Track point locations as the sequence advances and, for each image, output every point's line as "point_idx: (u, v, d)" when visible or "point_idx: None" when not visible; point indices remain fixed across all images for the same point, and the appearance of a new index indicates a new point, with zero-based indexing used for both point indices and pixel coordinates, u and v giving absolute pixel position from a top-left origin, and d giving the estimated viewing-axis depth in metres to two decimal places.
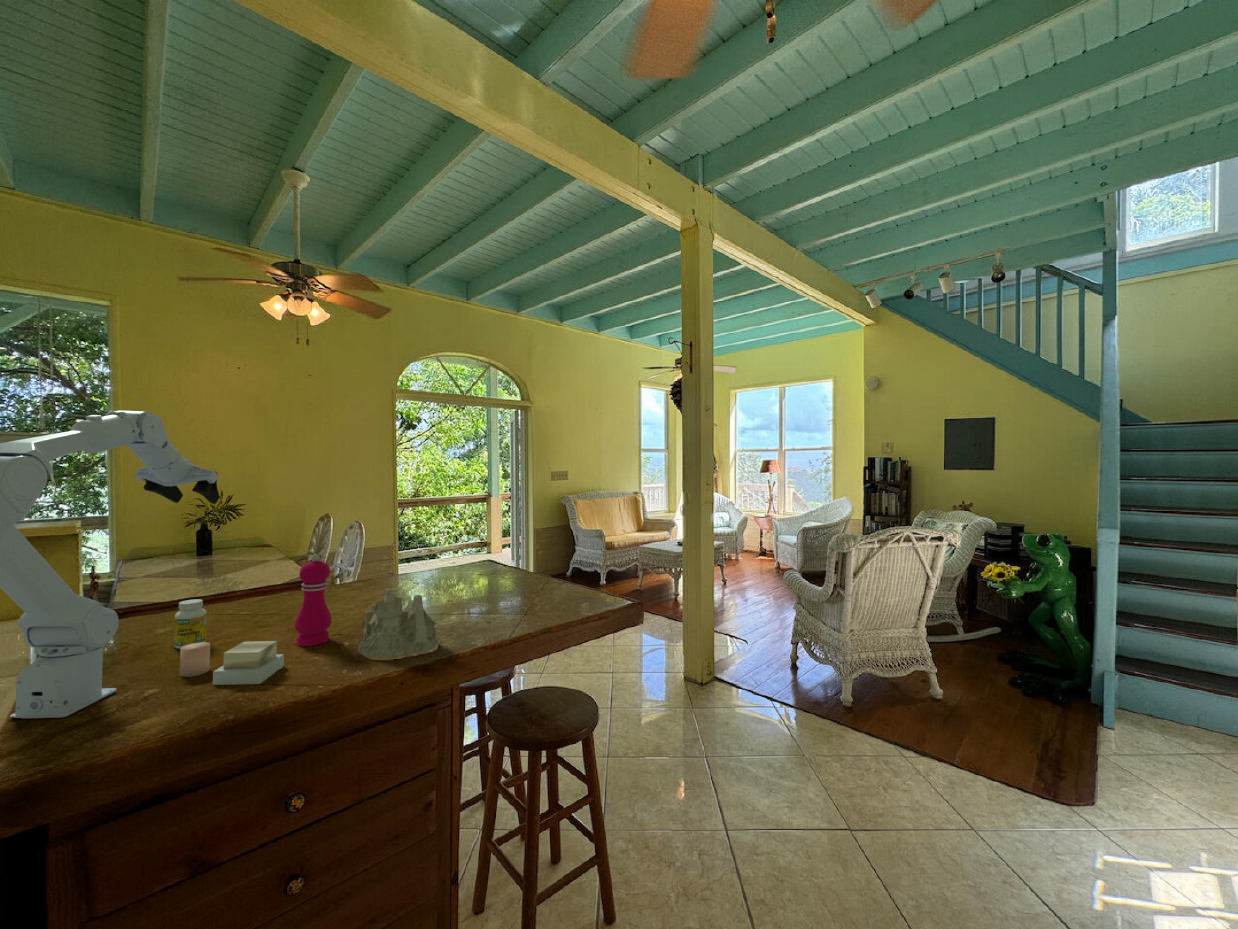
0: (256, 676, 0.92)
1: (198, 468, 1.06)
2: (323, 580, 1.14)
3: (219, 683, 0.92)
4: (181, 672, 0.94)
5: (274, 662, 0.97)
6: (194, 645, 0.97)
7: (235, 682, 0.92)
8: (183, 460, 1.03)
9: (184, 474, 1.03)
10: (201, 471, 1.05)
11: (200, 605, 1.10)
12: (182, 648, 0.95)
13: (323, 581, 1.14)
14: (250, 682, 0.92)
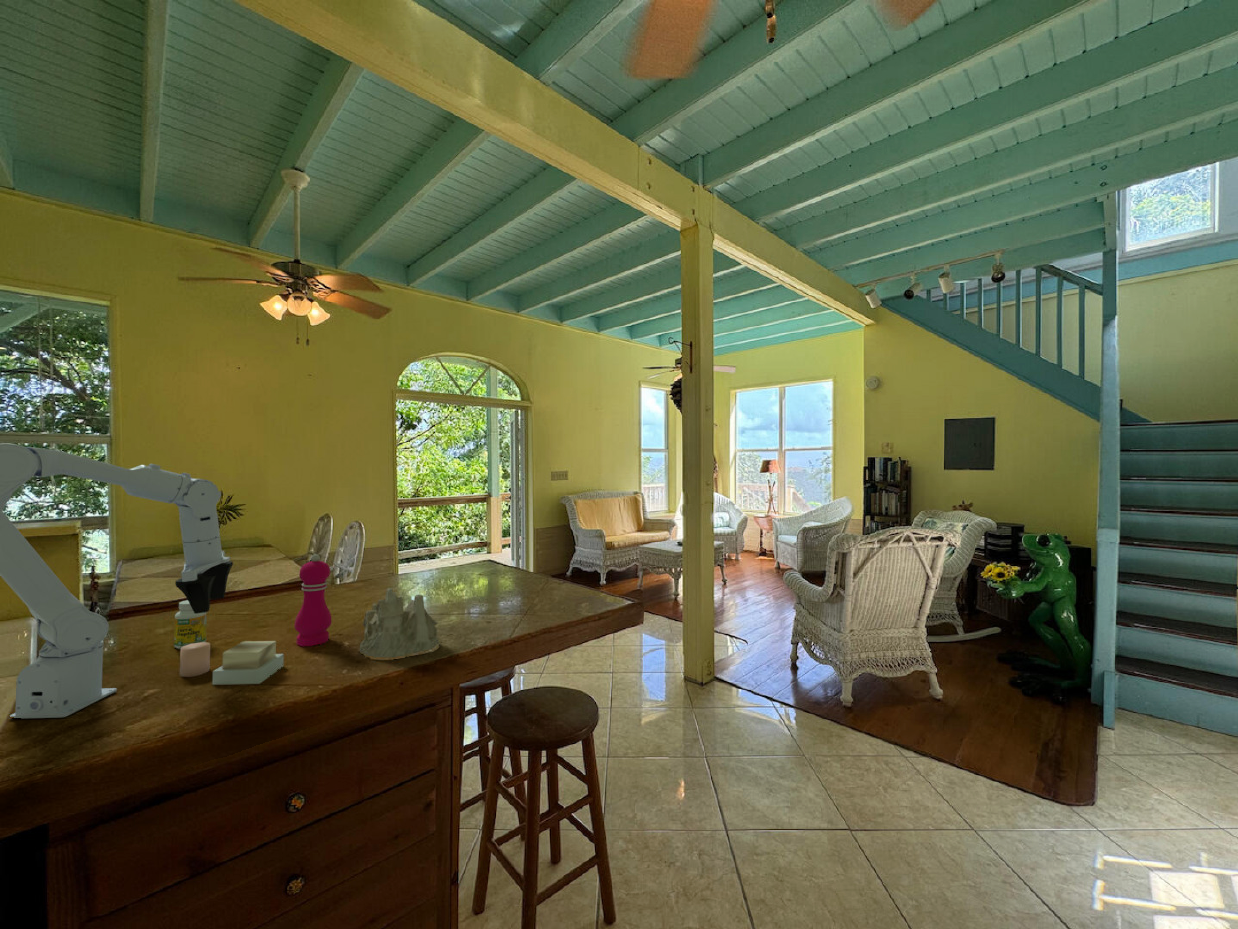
0: (256, 676, 0.92)
1: None
2: (323, 580, 1.14)
3: (219, 683, 0.92)
4: (181, 672, 0.94)
5: (274, 662, 0.97)
6: (194, 645, 0.97)
7: (235, 682, 0.92)
8: (203, 549, 0.97)
9: (192, 561, 0.96)
10: (198, 568, 0.95)
11: None
12: (182, 648, 0.95)
13: (323, 581, 1.14)
14: (250, 682, 0.92)
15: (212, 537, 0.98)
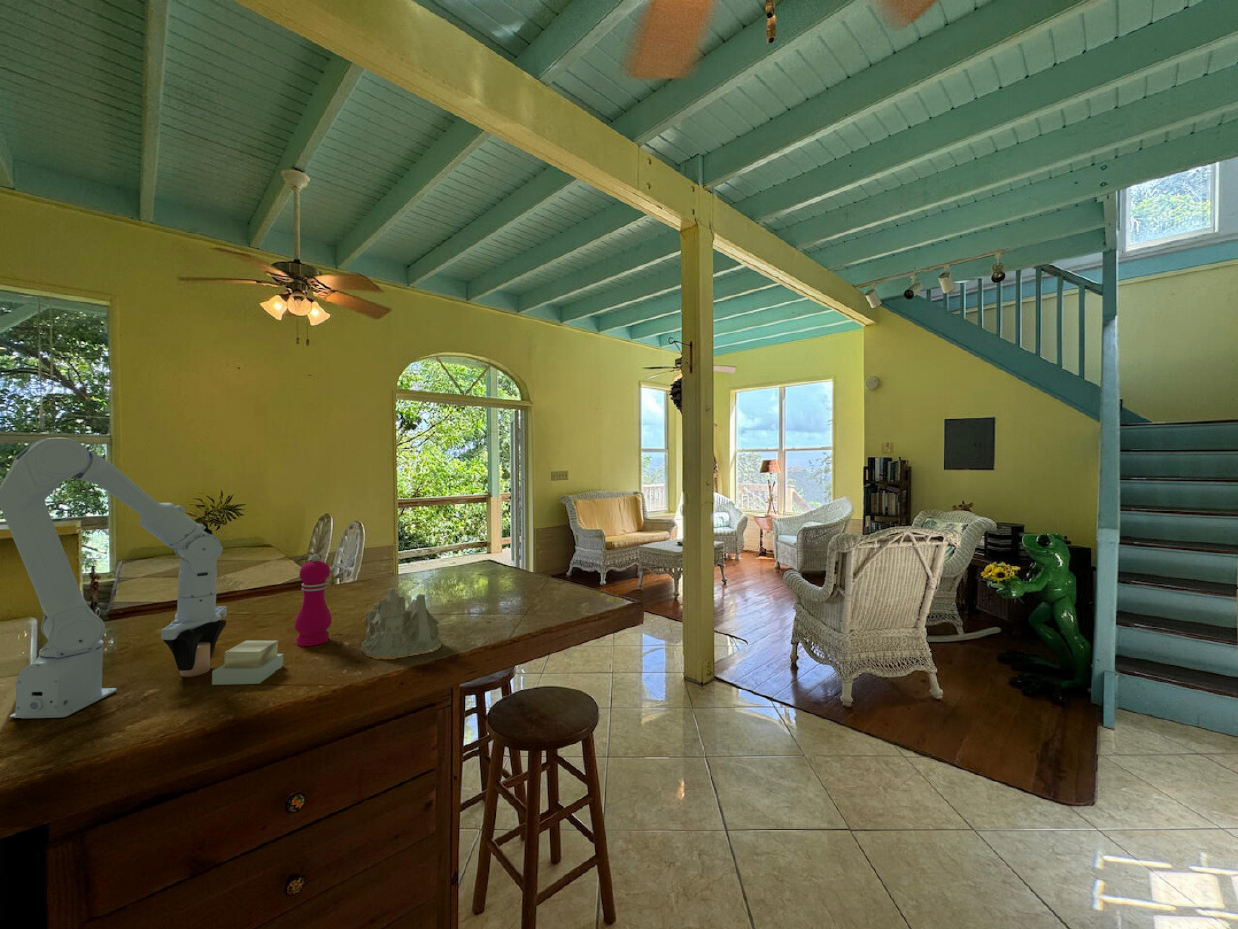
0: (255, 675, 0.92)
1: None
2: (323, 580, 1.14)
3: (219, 682, 0.92)
4: (181, 672, 0.94)
5: (273, 661, 0.97)
6: None
7: (234, 681, 0.92)
8: (193, 606, 0.94)
9: (181, 617, 0.94)
10: (182, 626, 0.92)
11: None
12: None
13: (323, 581, 1.14)
14: (249, 681, 0.92)
15: (206, 594, 0.96)
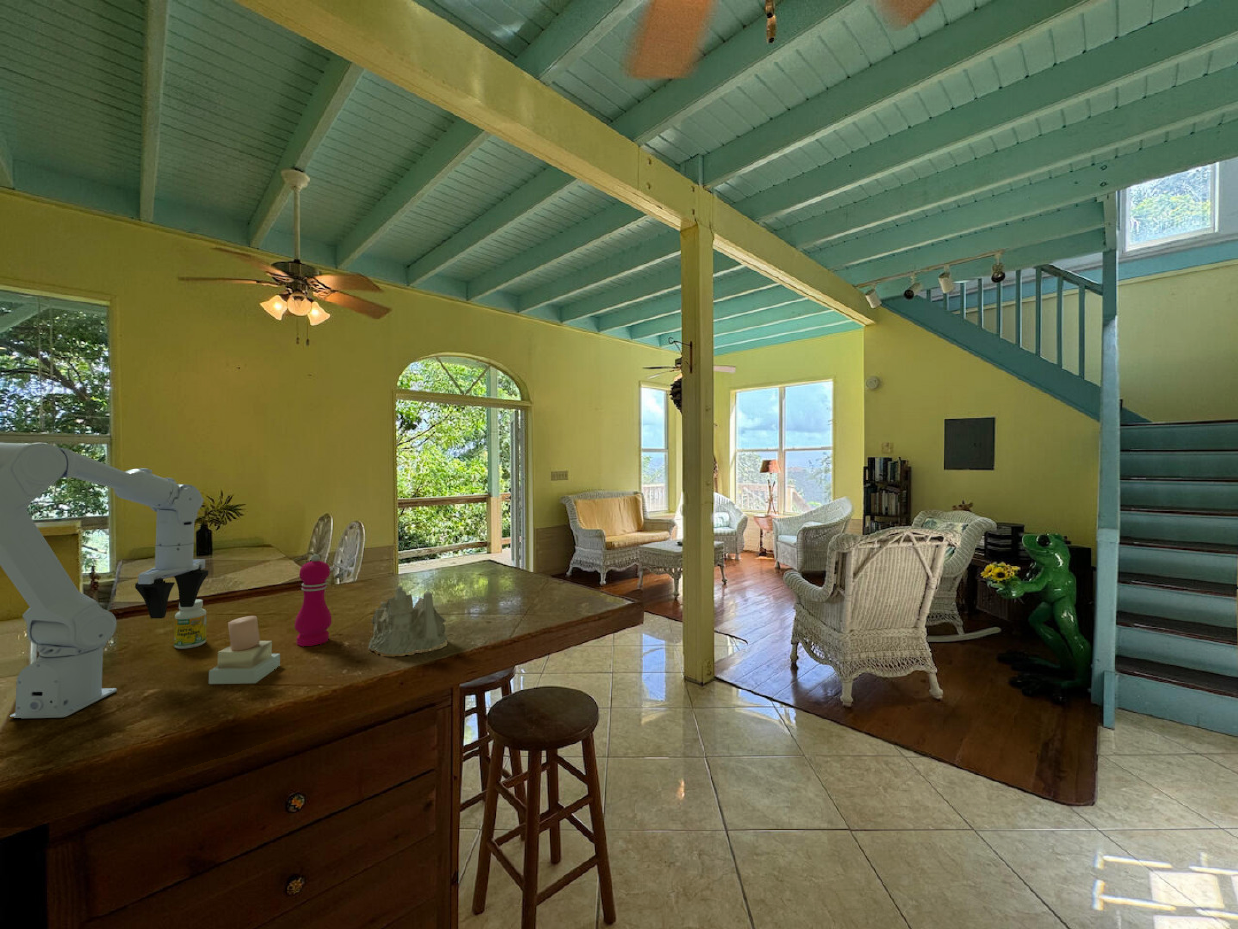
0: (252, 675, 0.92)
1: None
2: (323, 580, 1.14)
3: (215, 682, 0.92)
4: (233, 646, 0.94)
5: (270, 661, 0.97)
6: (241, 619, 0.96)
7: (231, 681, 0.92)
8: (170, 554, 0.97)
9: (158, 565, 0.97)
10: (159, 572, 0.95)
11: (200, 605, 1.10)
12: (229, 623, 0.94)
13: (323, 581, 1.14)
14: (246, 681, 0.92)
15: (190, 542, 1.00)
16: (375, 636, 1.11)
